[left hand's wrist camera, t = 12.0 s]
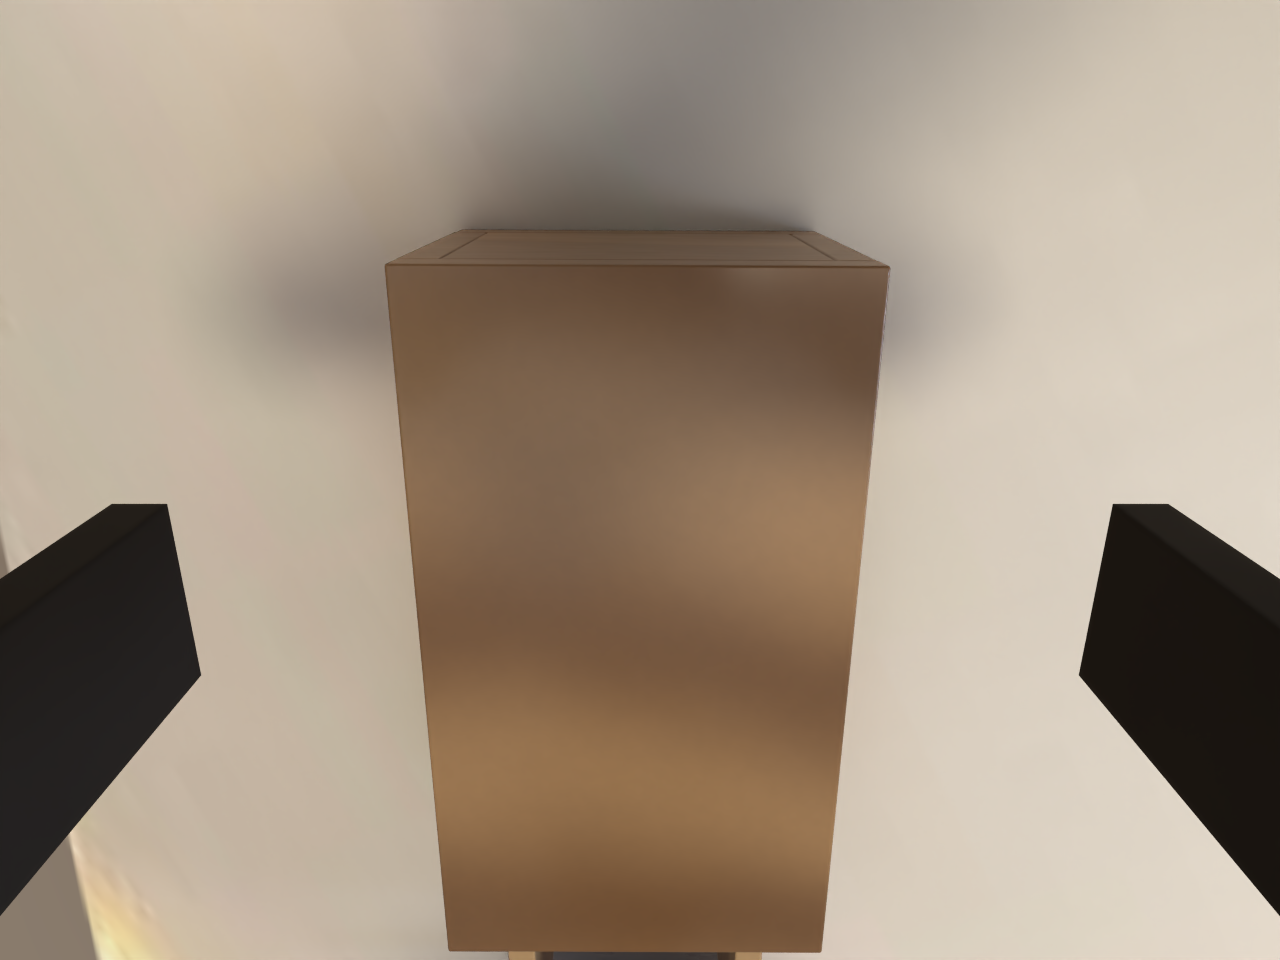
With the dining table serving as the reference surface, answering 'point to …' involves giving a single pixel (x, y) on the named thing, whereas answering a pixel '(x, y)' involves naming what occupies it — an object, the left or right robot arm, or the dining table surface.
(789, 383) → the brown wooden box
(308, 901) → the dining table surface
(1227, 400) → the dining table surface
